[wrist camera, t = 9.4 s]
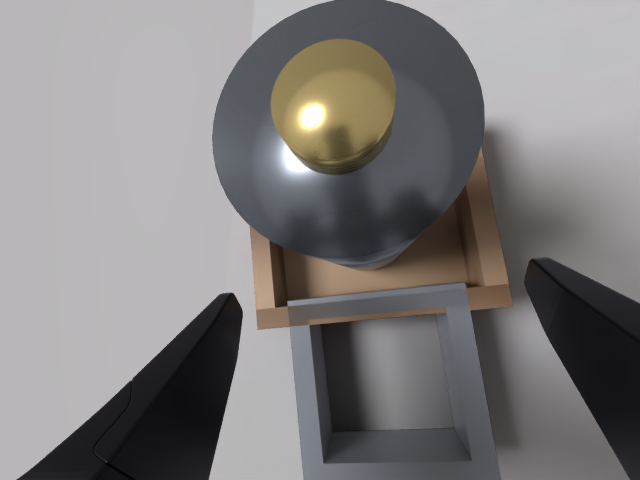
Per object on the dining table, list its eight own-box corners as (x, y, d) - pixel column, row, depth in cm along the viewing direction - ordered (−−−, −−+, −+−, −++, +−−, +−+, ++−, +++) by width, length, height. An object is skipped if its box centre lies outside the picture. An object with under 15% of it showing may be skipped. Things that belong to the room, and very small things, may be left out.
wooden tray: (488, 301, 16) (513, 306, 14) (276, 321, 18) (257, 329, 15) (455, 130, 18) (471, 100, 15) (263, 165, 20) (243, 145, 17)
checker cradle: (478, 448, 16) (502, 487, 13) (316, 452, 17) (304, 487, 14) (449, 282, 17) (465, 282, 14) (301, 297, 18) (287, 301, 15)
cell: (367, 289, 17) (338, 326, 4) (304, 230, 18) (135, 123, 5) (428, 223, 17) (585, 63, 4) (361, 167, 18) (324, -95, 5)
